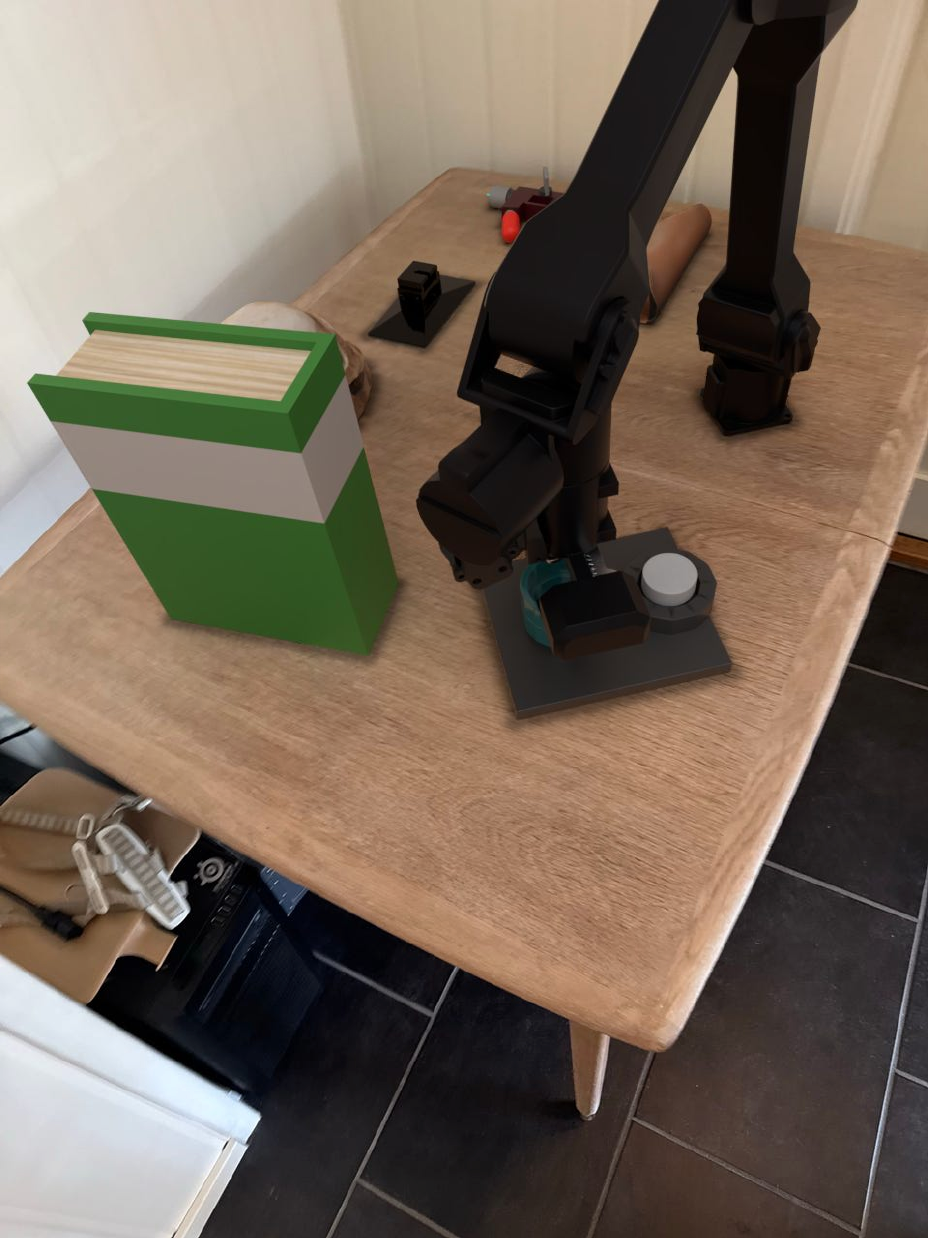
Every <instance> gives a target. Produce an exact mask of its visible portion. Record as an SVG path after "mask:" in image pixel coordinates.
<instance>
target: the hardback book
mask: <svg viewBox="0 0 928 1238" xmlns="http://www.w3.org/2000/svg"><path fill="white" fill-rule="evenodd" d="M81 321H82V323H83V325H84V327H85V329H86V331H87V332H88V335H89V336H88V338H87V339H86V340H84V342H83V343H82V344H81V346H80V347H79V348H78V349H77V350H76V352H75V353H74V354H73V355H72V356H71V357H70V359H69V360H67V362H66V363H65V364H64V365H63V367H62V368H61V369H60V370H59V371H58V372H57V374H56V375H53V374H52V375H51V374H44V373H34V374H33V375H32V376H31V378H29V380H28V381H27V382H26V384H27V386H28V387H29V389H30V390H31V392H32V394H33V395H34V397H35V399H36V400H37V402H38V403H39V405H40V407H41V409H42V410H43V412H44V414H45V415H46V417H47V418H48V420H49V422H50V423H51V425H52V427H53V428H54V430H55V431H56V433H57V435H58V436H59V438H60V440H61V441H62V444H63V445H64V446H65V448H66V449H67V451H68V452H69V454H70V456H71V458H72V460H73V461H74V463H75V464H76V466H77V468H78V469H79V471H80V473H81V474H82V476H83V477H84V479H85V481H86V482H87V484H88V486H89V487H90V489H91V490H92V492H93V494H94V495H95V497H96V499H97V500H98V502H99V504H100V505H101V506H102V509H103V510H104V512H105V513H106V515H107V516H108V518H109V520H110V521H111V523H112V525H113V526H114V528H115V530H116V531H117V533H118V535H119V536H120V538H121V540H122V541H123V543H124V545H125V546H126V548H127V549H128V551H129V553H130V554H131V556H132V557H133V559H134V561H135V563H136V564H137V566H138V567H139V570H140V571H141V572H142V574H143V576H144V577H145V579H146V581H147V582H148V584H149V585H150V588H151V589H152V591H153V592H154V594H155V595H156V597H157V599H158V600H159V602H160V604H161V605H162V607H163V608H164V611H166V614H167V615H168V617H169V619H171V620H174V621H180V622H186V623H192V624H195V625H196V624H198V625H201V626H207V627H213V628H219V629H224V630H229V631H234V632H238V633H245V634H250V635H255V636H260V637H266V638H272V639H276V640H282V641H288V642H292V643H297V644H304V645H310V646H314V647H320V648H324V649H331V650H335V651H336V650H337V651H341V652H347V653H351V654H352V653H353V654H357V655H362V656H369V655H370V653H371V650H372V648H373V646H374V643H375V641H376V638H377V636H378V633H379V631H380V629H381V627H382V624H383V623H384V619H385V617H386V615H387V612H388V609H389V607H390V605H391V603H392V600H393V598H394V596H395V593H396V591H397V589H398V586H399V584H400V583H399V579H398V576H397V571H396V568H395V567H396V566H395V563H394V560H393V555H392V552H391V548H390V544H389V540H388V536H387V532H386V529H385V525H384V521H383V520H384V519H383V517H382V513H381V509H380V503H379V501H378V500H379V499H378V497H377V493H376V489H375V485H374V481H373V477H372V473H371V469H370V465H369V461H368V457H367V454H366V453H367V452H366V449H365V446H364V441H363V437H362V434H361V430H360V426H359V421H358V420H357V418H356V414H355V410H354V406H353V402H352V398H351V394H350V390H349V386H348V382H347V378H346V374H345V370H344V367H343V363H342V359H341V355H340V351H339V347H338V343H337V339H336V335H335V334H327V333H316V332H305V331H294V330H283V329H272V328H261V327H250V326H239V325H228V324H220V323H215V322H214V323H213V322H206V321H193V320H183V319H171V318H162V317H161V318H160V317H151V316H150V317H149V316H138V315H129V314H119V313H118V314H117V313H107V312H106V313H105V312H96V311H95V312H94V311H89V312H88V313H87V314H86V315H85V316H84V317H83V318H82V320H81Z"/></svg>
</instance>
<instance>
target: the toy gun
mask: <svg viewBox="0 0 928 1238" xmlns="http://www.w3.org/2000/svg"><path fill="white" fill-rule="evenodd" d="M542 177H543V178H542V179H543V186H540V188H533V187H526V186H521V185H519V186H518V187H517V188H516V189H514V188H513V187H511V186H506V185H505V186H504V185H499V184H498V185H497V184H495V185H493V186H492V188H491V189H490V193H487V194H486V196H488V197H489V205H490V207H491V208H494V209H500V212H501V236H502V239H503V240H504V242H507V243H511V244H513V242H514V240H515V239H516V237H517V235H518V234H519V232H520V230H521V224H522V222H523V221H524V220H525V222H527V221H528V220H529V219H530V218H532V217H533V216H535V215H536V214H537V213H539V212H540V211H542V210H543V209H544V208H546V207H547V206H548V205H550V204H551V203H553V202H554V201H555V200H557V199H558V198H560V197H561V196H562V195H563V194H564V193H565V192H559V191H553V187H551V186H550V176H549V170H548V166H543V167H542Z"/></svg>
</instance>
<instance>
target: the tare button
mask: <svg viewBox="0 0 928 1238" xmlns="http://www.w3.org/2000/svg"><path fill="white" fill-rule="evenodd" d="M696 582H697V570H696V567H695V566H694V564H693V563H692V562H691V561H690V560H689V559H687V558H686V557H684V556H682V555H679V554H674V553H663V554H659V555H656V556H654V557H652V558H650V559H649V560H648V561H647V562H646V563H645V565H644V567H643V570H642V581H641V587H642V591H643V593H644V594H645V596H646V597H647V598H648V599H649V600H650V601H652V602H654V603H656V604H658V605H662V606H678V605H681V604H683V603H685V602H687V601H688V600H689V599H690V598H691V597H692V596H693V594H694V592H695V588H696Z"/></svg>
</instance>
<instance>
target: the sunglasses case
mask: <svg viewBox="0 0 928 1238" xmlns="http://www.w3.org/2000/svg"><path fill="white" fill-rule="evenodd" d="M712 223H713V217H712V213H711V211H710V209H709V208H708V207H707V206H706V205H704V204H703V203H697V204H695V205H692V206H689V207H687V208H685V209H682V210H680V211H678V212H676V213H674V214H671V215H667V216H664V217H661V218H659V219H658V221H657V223H656V226H655V228H654V231H653V233H652V235H651V238H650V240H649V243H648V245H647V262H648V274H649V286H650V291H649V295H648V297H647V300H646V302H645V305H644V307H643V310H642V312H641V315H640V324H642V325H647V324H650V323H652V322H654V321H655V320H656V319H657V318H658V317H659V316H660V314H661V313H662V311H664V308H665V306H666V304H667V302H668V300H669V299H670V298H671V295H672V293H673V292H674V290H675V289H676V287H677V285H678V283H679V281H681V278H682V276H683V275H684V273H685V271H686V270H687V268H688V266H689V264H690V263H691V261H692V260H693V258H694V257H695V254H696V253H697V252H698V249H699V248H700V247H701V245H702V243H703V241H705V239H706V237H708V236H707V235H708V234H709V232H710V230H711V228H712Z"/></svg>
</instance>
